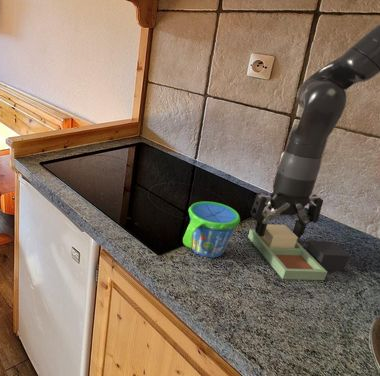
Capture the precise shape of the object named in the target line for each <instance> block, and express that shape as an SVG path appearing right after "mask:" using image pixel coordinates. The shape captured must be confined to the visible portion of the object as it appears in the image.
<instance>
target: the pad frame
mask: <svg viewBox="0 0 380 376" xmlns="http://www.w3.org/2000/svg"><path fill="white" fill-rule="evenodd" d="M247 238H248V239H249V240H250V241H251V243H252V244H253V245H254V247H256V248H257V250H258V251H259V252H260V254H261V255H262V256H263V257H264V258H265V260H266V261H267V262H268V263H269V264H270V266H271V267H272V268H273V269H274V270H275V272H276V273H277V274H278V276H279V277H280V278H281V279H282V280H296V281H297V280H300V281H301V280H302V281H306V280H307V281H325V279H326V277H327V274H328V270H325V269H324V268H323V267H322V266H321V265H320V264H319V263H318V262H317V261H316V260H315V259H314V258H313V257H312V256H311V255H310V254H309V253H308V252H307V251H306V248H304V247H303V246H302V245H301V244H300V243H299V242H298V240H297V241H296V244H295V247H294V248H270V247H268V246H267V245H266V244H265V242H264V241H263V240H262V239H261V238H260V237H259V235H258V234H257V233H256V231H255V228H254V229H253V228H250V229H249V232H248V236H247Z"/></svg>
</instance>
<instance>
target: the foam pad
mask: <svg viewBox="0 0 380 376" xmlns="http://www.w3.org/2000/svg"><path fill="white" fill-rule="evenodd" d="M260 238H261V239H262V240H263V241H264V242H265V244H266V245H267V246H268V247H270V248H294V247H295V244H296V241H297V242H298V239H299V238H298V237H297V236H296V235H295V234H294V233H293V230H291V229H290V228H289V226H287V225H286V224H272V223H271V224H269V223H267V227H266V230H265V234H264V237H260Z"/></svg>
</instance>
